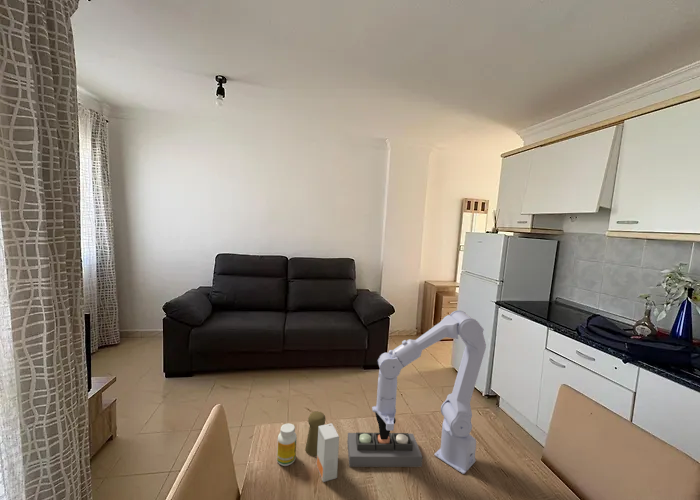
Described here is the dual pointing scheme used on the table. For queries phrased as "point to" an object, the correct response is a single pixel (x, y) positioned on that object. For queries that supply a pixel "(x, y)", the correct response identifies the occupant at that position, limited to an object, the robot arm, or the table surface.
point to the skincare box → (327, 452)
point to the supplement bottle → (286, 445)
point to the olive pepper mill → (314, 432)
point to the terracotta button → (383, 440)
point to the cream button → (401, 439)
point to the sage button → (365, 438)
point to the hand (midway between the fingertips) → (383, 437)
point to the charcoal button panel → (383, 452)
